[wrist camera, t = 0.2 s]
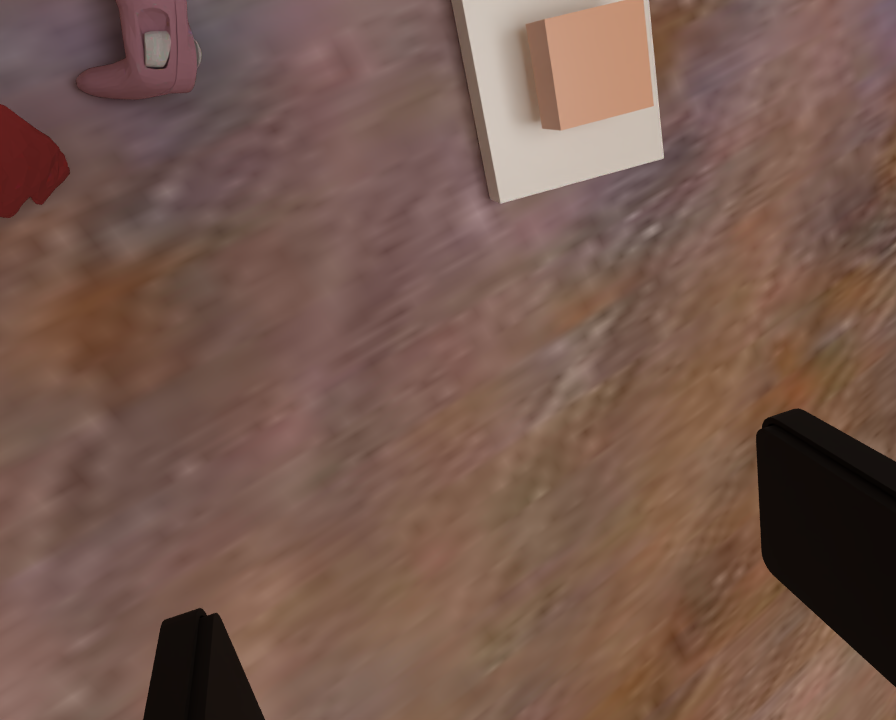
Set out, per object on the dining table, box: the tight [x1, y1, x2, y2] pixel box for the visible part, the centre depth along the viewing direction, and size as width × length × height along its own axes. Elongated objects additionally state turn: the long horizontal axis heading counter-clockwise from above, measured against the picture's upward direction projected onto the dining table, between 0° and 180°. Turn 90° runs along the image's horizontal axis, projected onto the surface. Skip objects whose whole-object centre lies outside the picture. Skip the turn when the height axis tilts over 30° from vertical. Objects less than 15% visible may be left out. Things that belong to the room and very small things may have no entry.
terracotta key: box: [526, 0, 654, 131], centre depth 35 cm, size 5×5×2 cm
